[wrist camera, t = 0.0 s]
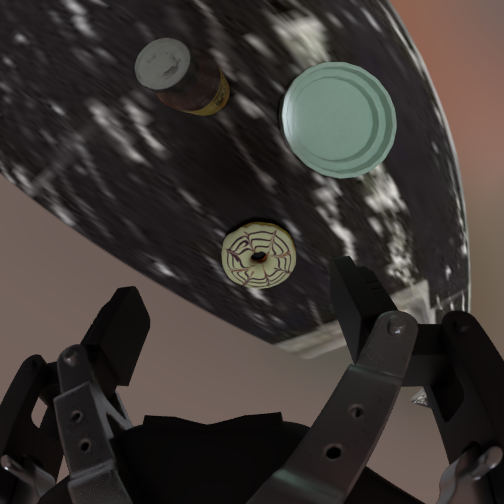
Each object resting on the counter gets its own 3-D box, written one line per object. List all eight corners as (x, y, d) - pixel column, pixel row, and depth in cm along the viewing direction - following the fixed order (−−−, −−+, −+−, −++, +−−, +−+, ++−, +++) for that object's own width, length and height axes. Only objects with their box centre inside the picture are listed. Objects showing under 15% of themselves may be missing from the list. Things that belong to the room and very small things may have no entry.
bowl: (269, 72, 31) (272, 65, 27) (373, 68, 30) (388, 64, 26) (286, 176, 38) (291, 184, 33) (383, 166, 37) (399, 173, 32)
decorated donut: (212, 231, 42) (208, 242, 38) (281, 207, 40) (284, 216, 37) (237, 286, 46) (236, 300, 43) (301, 267, 44) (305, 279, 41)
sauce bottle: (234, 111, 34) (217, 102, 16) (188, 120, 34) (128, 125, 16) (226, 66, 31) (202, 16, 13) (180, 76, 31) (116, 43, 13)
